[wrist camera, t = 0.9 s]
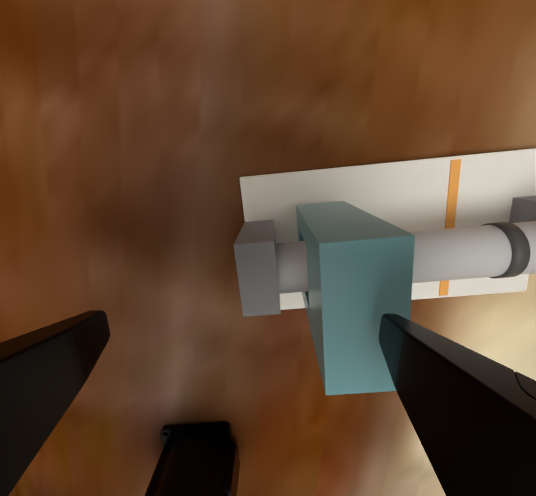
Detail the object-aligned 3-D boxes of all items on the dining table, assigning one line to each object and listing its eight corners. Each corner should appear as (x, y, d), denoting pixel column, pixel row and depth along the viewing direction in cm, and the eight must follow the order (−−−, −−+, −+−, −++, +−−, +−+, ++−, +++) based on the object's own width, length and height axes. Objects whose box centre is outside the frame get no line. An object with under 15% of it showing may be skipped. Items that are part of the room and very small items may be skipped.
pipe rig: (256, 304, 22) (249, 364, 15) (241, 176, 19) (224, 182, 13) (512, 284, 21) (622, 338, 15) (535, 148, 19) (685, 137, 12)
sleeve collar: (301, 291, 19) (325, 395, 10) (295, 205, 17) (319, 243, 9) (345, 288, 19) (405, 390, 10) (343, 201, 17) (415, 235, 9)
